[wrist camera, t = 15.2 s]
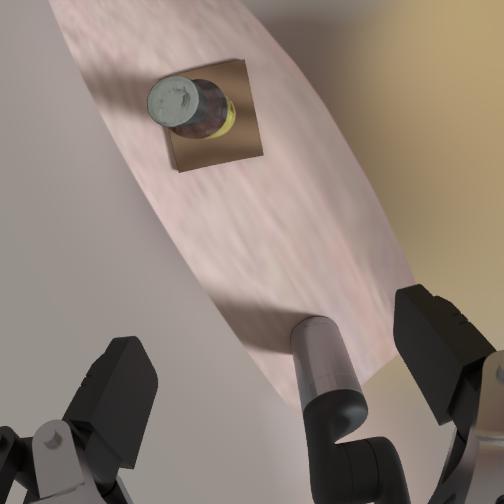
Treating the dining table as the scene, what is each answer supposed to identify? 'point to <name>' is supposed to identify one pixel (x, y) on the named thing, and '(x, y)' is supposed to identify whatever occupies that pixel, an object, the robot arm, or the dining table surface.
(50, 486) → the robot arm
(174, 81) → the sauce bottle
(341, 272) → the dining table surface
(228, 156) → the walnut board
